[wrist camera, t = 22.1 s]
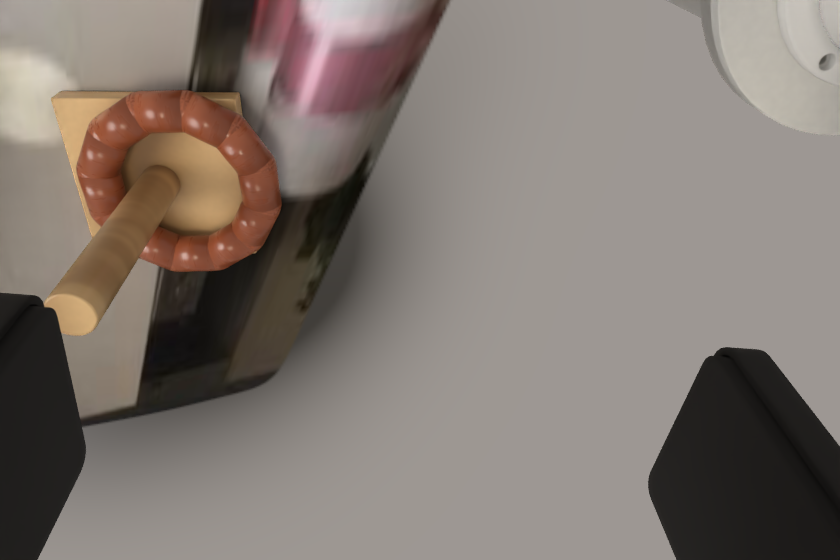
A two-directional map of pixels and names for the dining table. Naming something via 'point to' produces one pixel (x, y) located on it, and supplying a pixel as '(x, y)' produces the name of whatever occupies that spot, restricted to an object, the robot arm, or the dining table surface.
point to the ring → (205, 123)
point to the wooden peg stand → (139, 203)
